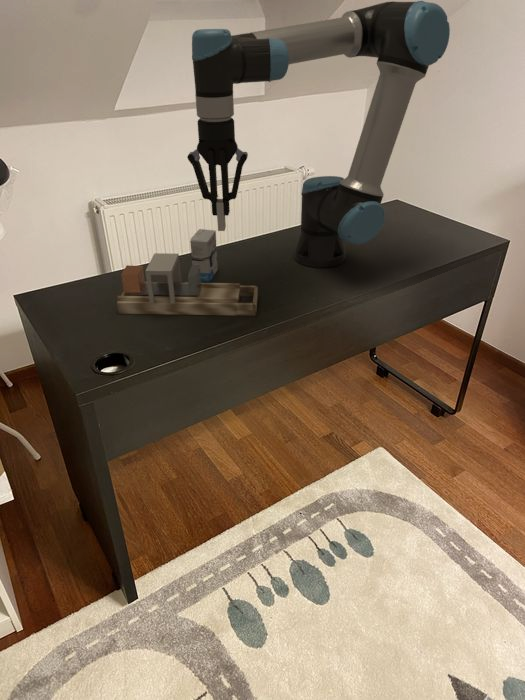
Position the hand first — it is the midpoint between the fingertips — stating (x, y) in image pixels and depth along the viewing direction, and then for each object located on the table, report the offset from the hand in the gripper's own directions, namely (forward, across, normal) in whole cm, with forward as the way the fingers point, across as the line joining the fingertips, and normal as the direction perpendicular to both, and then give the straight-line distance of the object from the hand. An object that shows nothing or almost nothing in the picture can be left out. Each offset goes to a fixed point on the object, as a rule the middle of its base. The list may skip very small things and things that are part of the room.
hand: (221, 228), depth 120 cm
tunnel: (+17, +15, 0) cm, 22 cm away
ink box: (+20, +7, -17) cm, 27 cm away
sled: (+17, +15, 0) cm, 23 cm away
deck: (+20, +9, 0) cm, 22 cm away
